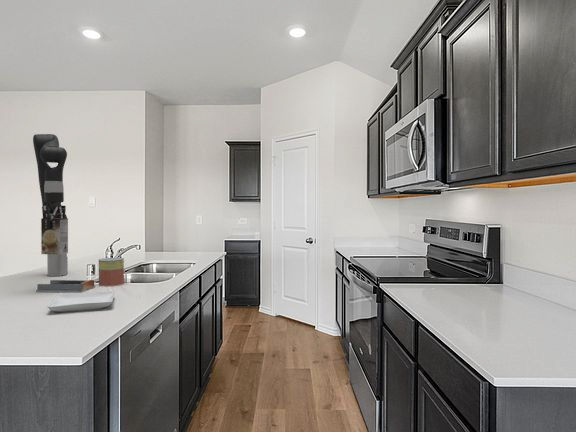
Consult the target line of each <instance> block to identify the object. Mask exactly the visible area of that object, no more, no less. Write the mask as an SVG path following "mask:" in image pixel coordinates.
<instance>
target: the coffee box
mask: <svg viewBox="0 0 576 432" xmlns="http://www.w3.org/2000/svg"><path fill="white" fill-rule="evenodd" d="M52 221H53V229H47V221H46V220H45V219H43V217H42V218H41V219H40V222H41V223H40V225H41V226H40V230H41V232H40V235H41V238H40V240H41V242H40V247H41V248H40V249H41V253H40V254H41V255H47V254H52V255H61V254H66V253H67V254H69V218H68V217H67V218H53V219H52Z"/></svg>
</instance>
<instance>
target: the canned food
mask: <svg viewBox="0 0 576 432" xmlns="http://www.w3.org/2000/svg"><path fill="white" fill-rule="evenodd" d="M124 260H125V259H124V257H105V258H99V259H98V286H101V287H115V286H116V287H118V286H120V285H121V286H122V285H125V280H124V279H125V276H124V275H125V274H124V272H125V271H124V270H125V264H124V263H125V262H124Z"/></svg>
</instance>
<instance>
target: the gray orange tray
mask: <svg viewBox="0 0 576 432" xmlns="http://www.w3.org/2000/svg"><path fill="white" fill-rule="evenodd" d="M36 285H37V289H36V293H69V294H76V293H85V292H86V291H89V290H91V289H95V288H96V285H95V280H94V279H89V280H88V279H87V280H78V279H77V280H75V279H73V280H72V279H66V280H65V279H51V280H49V283H38V284H36Z"/></svg>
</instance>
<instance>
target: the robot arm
mask: <svg viewBox="0 0 576 432" xmlns="http://www.w3.org/2000/svg"><path fill="white" fill-rule="evenodd" d="M32 137H33V138H32V142H33V143H32V144H33V145H32V146H33V150H34V154H35V159H36V165H37V173H38V174H37V175H38V183H39V184H38V185H39V190H40V196H41V204H42V207H41V210H42V211H41V213H42V218H43V219H45V220H46V221H47V229H53V221H52V219H53V218H68V216H67V214H66V210H67V209H66V208H67V206H66V205H62V203H64V202H65V201H64V200H65V197H64V195H65V194H64V193H65V192H64V190H65V189H64V181H63V180H64V179H63V178H64V175H63V174H64V168H65V163H66V160H67V157H68V152H67V150H66V148H64V147H61V146H60V141H59V139H58V136H57V135H56V134H53V133H41V134H40V133H39V134H33V136H32ZM48 163H50V164H51V163H54V164H57V165H56V166H54V167H51V165H49V164H48ZM46 255H47V259H46V261H47V276H48V277H63V276H67V275H68V273H69V272H68V271H69V266H68V265H69V264H68V253H66V254H61V255H52V254H46ZM62 275H63V276H62Z"/></svg>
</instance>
